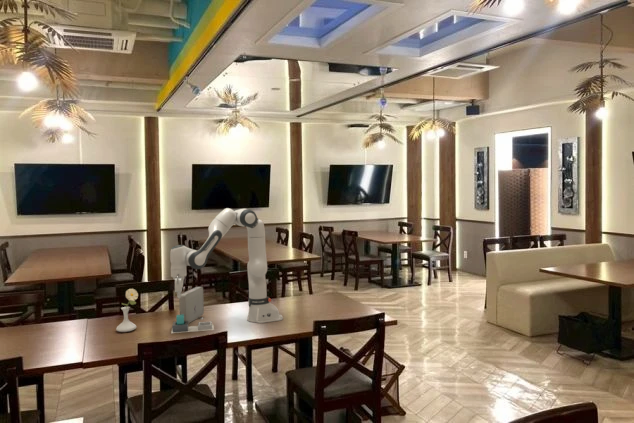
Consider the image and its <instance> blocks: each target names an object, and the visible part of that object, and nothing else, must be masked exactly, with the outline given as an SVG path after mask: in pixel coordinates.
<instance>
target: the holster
mask: <svg viewBox="0 0 634 423" xmlns="http://www.w3.org/2000/svg"><path fill="white" fill-rule="evenodd" d="M212 325H213V321H199V322H197V326H198V330H207V331H210V330H209V329H212Z"/></svg>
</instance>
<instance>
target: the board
mask: <svg viewBox="0 0 634 423" xmlns="http://www.w3.org/2000/svg"><path fill="white" fill-rule="evenodd" d="M203 331H204V332H205V331H215V325H214V324H212V329H209V330H198V325H191V326H190V325H189V326H188V331H186V332H185V333H192V332H203ZM170 333H171V334H179V333H180V334H181V333H183V332H173V330H172V329H171V331H170Z"/></svg>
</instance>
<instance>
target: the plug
mask: <svg viewBox="0 0 634 423" xmlns="http://www.w3.org/2000/svg"><path fill="white" fill-rule="evenodd" d="M176 321H177V325H179V324H184V314H182V315H180V314H176Z"/></svg>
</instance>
